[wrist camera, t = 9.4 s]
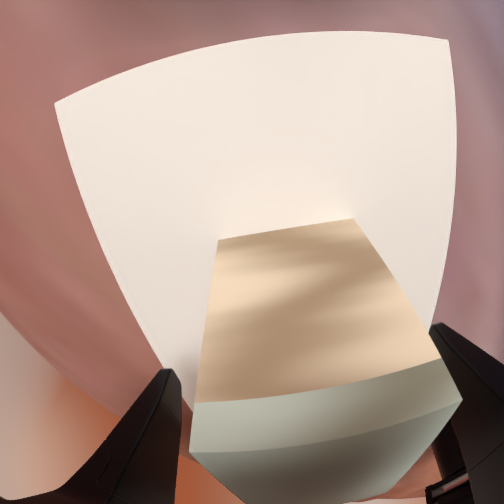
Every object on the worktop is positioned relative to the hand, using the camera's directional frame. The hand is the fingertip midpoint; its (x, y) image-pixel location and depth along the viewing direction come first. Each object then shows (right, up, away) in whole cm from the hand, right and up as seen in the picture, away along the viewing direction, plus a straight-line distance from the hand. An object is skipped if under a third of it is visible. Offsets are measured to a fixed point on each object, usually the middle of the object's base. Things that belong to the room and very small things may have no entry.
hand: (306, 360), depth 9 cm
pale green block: (0, +1, +2) cm, 3 cm away
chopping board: (0, +2, +3) cm, 4 cm away
